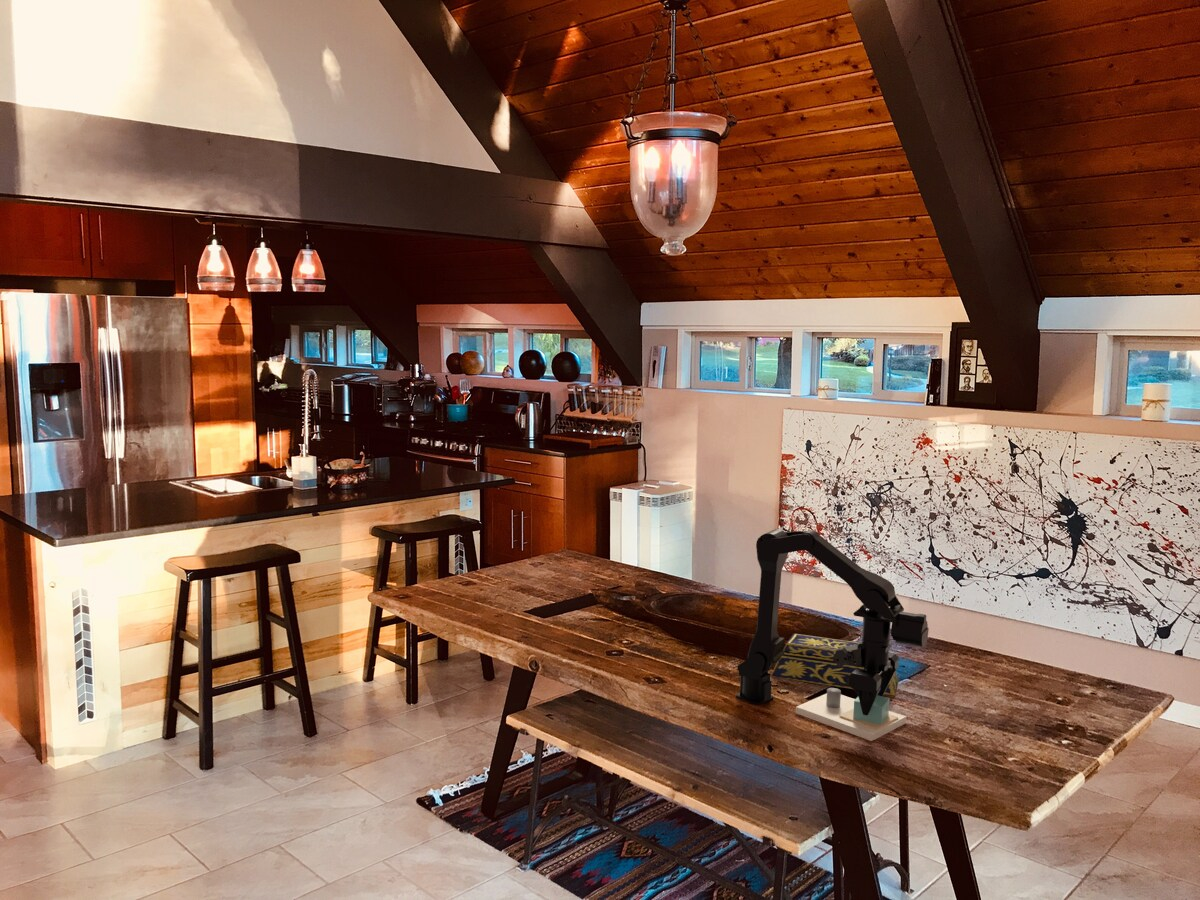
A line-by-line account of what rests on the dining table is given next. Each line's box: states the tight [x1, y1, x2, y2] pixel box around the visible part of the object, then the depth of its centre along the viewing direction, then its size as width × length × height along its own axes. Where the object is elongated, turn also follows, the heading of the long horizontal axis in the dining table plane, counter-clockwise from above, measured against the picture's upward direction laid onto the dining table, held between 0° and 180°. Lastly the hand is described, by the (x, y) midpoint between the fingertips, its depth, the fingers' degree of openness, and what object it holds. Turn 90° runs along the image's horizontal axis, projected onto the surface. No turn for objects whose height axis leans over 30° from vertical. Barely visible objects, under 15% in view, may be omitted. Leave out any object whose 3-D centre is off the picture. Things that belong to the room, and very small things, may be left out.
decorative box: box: [770, 633, 900, 697], centre depth 234 cm, size 11×30×9 cm, turn 68°
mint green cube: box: [853, 695, 890, 725], centre depth 206 cm, size 6×6×4 cm
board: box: [795, 687, 907, 742], centre depth 210 cm, size 19×14×5 cm
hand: (871, 707), depth 206 cm, fingers open, 9 cm apart
